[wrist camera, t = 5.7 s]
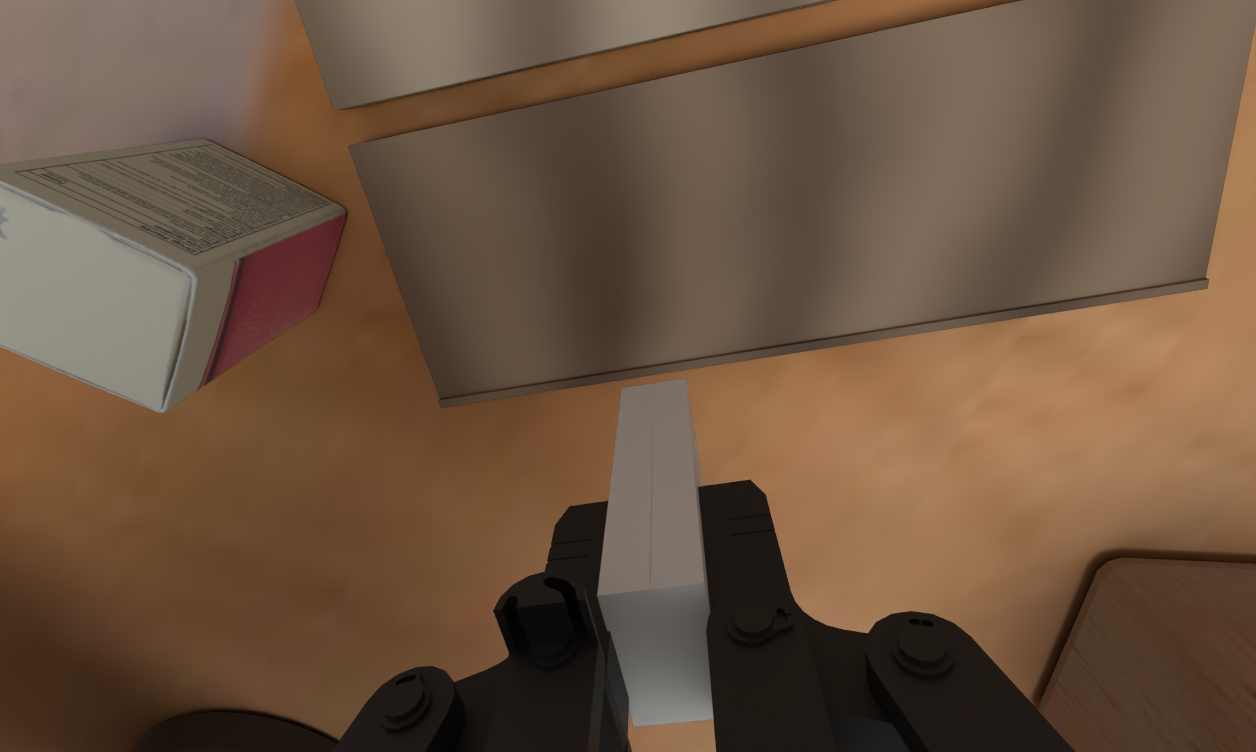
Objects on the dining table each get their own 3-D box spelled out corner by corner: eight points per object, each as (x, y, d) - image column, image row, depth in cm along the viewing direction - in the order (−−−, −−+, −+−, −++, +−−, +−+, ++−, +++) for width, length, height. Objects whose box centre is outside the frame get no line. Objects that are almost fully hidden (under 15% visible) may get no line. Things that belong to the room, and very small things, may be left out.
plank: (452, 390, 24) (441, 407, 23) (365, 142, 20) (345, 146, 19) (1175, 276, 21) (1207, 288, 19) (1232, -46, 17) (1276, -55, 16)
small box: (180, 249, 22) (-51, 331, 15) (204, 132, 20) (-45, 162, 13) (320, 315, 23) (162, 423, 16) (353, 208, 21) (195, 274, 14)
